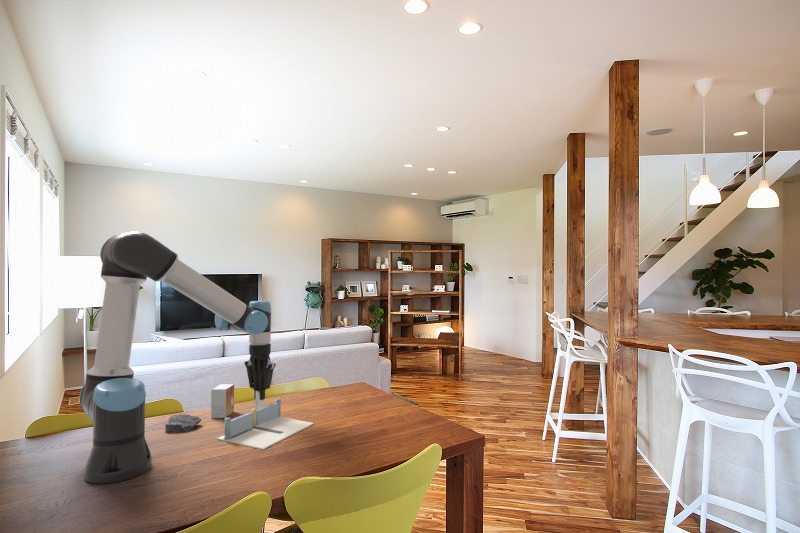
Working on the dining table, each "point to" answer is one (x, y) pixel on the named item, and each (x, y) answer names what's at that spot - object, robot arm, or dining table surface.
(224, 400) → the small box
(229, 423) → the fixed fence panel
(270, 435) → the card
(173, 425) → the rock
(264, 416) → the swing fence panel
